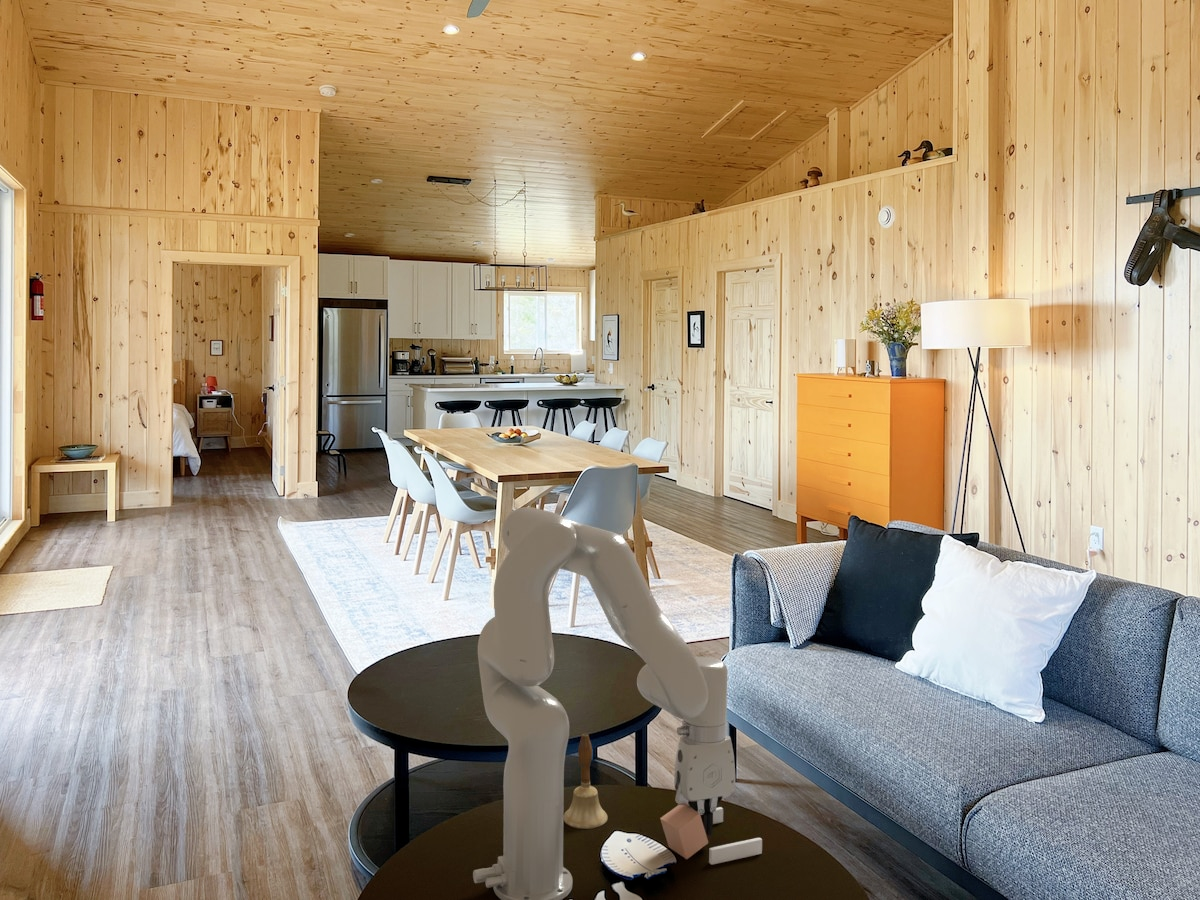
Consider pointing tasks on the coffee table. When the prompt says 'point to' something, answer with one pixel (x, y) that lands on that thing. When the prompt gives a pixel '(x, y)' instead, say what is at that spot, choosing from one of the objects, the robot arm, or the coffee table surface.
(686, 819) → the block
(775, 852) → the coffee table surface
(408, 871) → the coffee table surface
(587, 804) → the hand bell
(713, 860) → the channel
